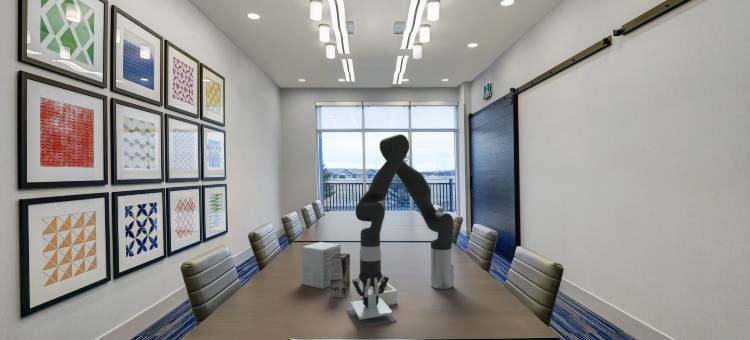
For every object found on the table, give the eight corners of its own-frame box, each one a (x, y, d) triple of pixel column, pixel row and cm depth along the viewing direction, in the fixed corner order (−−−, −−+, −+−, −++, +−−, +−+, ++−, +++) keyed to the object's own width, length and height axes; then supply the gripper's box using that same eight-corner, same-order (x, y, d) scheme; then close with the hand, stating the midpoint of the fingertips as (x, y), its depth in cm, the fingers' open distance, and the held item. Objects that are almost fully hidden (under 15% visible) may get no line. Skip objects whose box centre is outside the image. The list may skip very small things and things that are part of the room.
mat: (382, 306, 127) (382, 305, 127) (396, 321, 113) (396, 320, 113) (347, 311, 122) (347, 310, 122) (357, 328, 109) (357, 327, 109)
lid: (380, 299, 125) (380, 284, 125) (392, 314, 114) (392, 297, 114) (350, 303, 121) (350, 288, 121) (359, 319, 110) (359, 302, 110)
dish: (387, 293, 140) (387, 282, 140) (397, 303, 129) (397, 290, 129) (362, 297, 136) (362, 285, 136) (370, 307, 126) (370, 294, 126)
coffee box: (344, 298, 135) (344, 258, 136) (329, 296, 137) (329, 258, 137) (350, 290, 144) (350, 253, 145) (336, 289, 146) (336, 252, 146)
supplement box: (341, 281, 157) (341, 244, 157) (323, 289, 146) (323, 249, 146) (320, 276, 164) (320, 241, 164) (301, 284, 153) (301, 246, 153)
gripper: (384, 253, 124) (385, 299, 124) (348, 256, 119) (349, 304, 119) (392, 258, 117) (392, 307, 116) (354, 262, 112) (354, 313, 112)
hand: (370, 305), depth 118 cm, fingers closed on lid, 2 cm apart
